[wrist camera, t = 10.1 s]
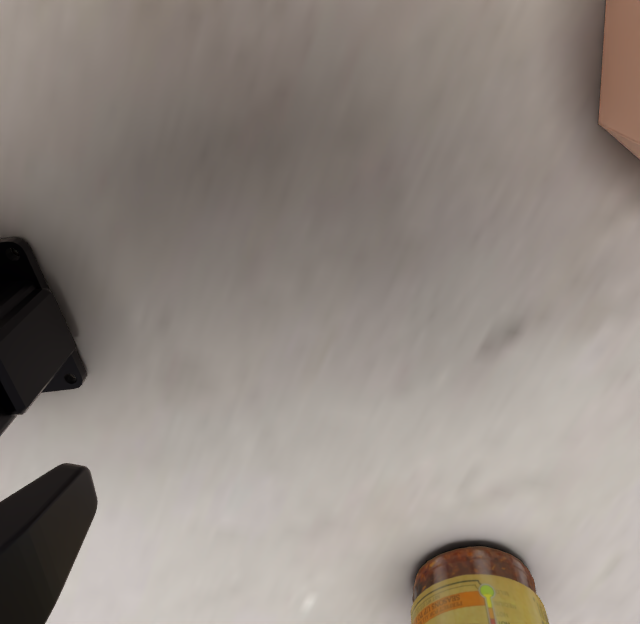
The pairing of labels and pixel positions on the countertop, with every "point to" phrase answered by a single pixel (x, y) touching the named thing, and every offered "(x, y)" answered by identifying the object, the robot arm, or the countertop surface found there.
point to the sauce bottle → (476, 590)
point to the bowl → (621, 73)
